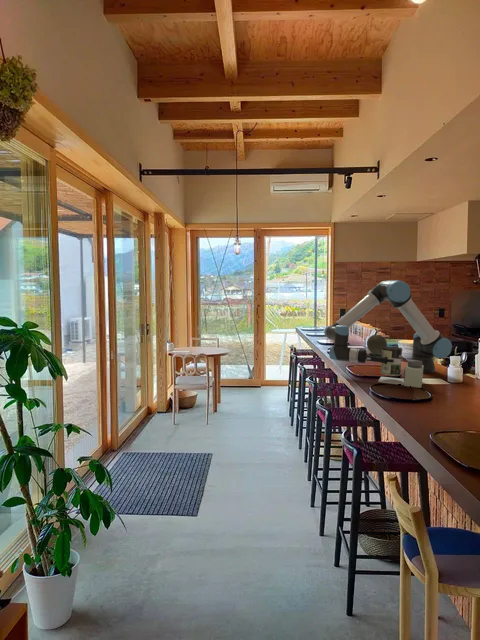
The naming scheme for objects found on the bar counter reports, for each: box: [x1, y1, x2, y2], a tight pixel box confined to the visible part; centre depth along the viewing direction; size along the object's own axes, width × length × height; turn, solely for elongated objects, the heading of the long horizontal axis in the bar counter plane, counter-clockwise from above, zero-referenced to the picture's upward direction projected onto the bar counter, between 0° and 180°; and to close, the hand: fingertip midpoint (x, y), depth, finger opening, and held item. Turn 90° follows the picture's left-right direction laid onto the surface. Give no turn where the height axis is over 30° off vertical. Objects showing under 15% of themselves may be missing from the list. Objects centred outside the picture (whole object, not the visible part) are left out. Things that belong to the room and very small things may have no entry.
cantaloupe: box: [366, 334, 388, 354], centre depth 325 cm, size 14×14×15 cm
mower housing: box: [377, 359, 424, 389], centre depth 235 cm, size 21×16×12 cm
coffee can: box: [379, 345, 403, 377], centre depth 237 cm, size 10×10×14 cm
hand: (401, 360), depth 235 cm, fingers closed on coffee can, 10 cm apart
